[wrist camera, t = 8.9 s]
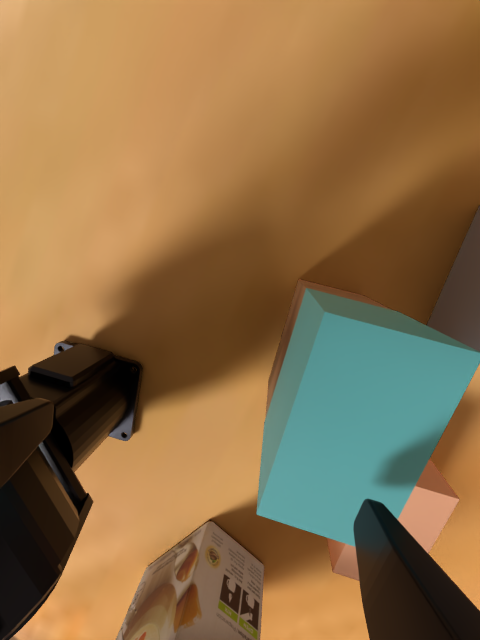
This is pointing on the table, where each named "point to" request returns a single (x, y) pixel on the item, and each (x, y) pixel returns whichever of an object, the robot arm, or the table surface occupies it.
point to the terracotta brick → (408, 519)
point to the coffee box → (198, 592)
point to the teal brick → (355, 413)
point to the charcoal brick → (462, 293)
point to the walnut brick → (292, 319)
